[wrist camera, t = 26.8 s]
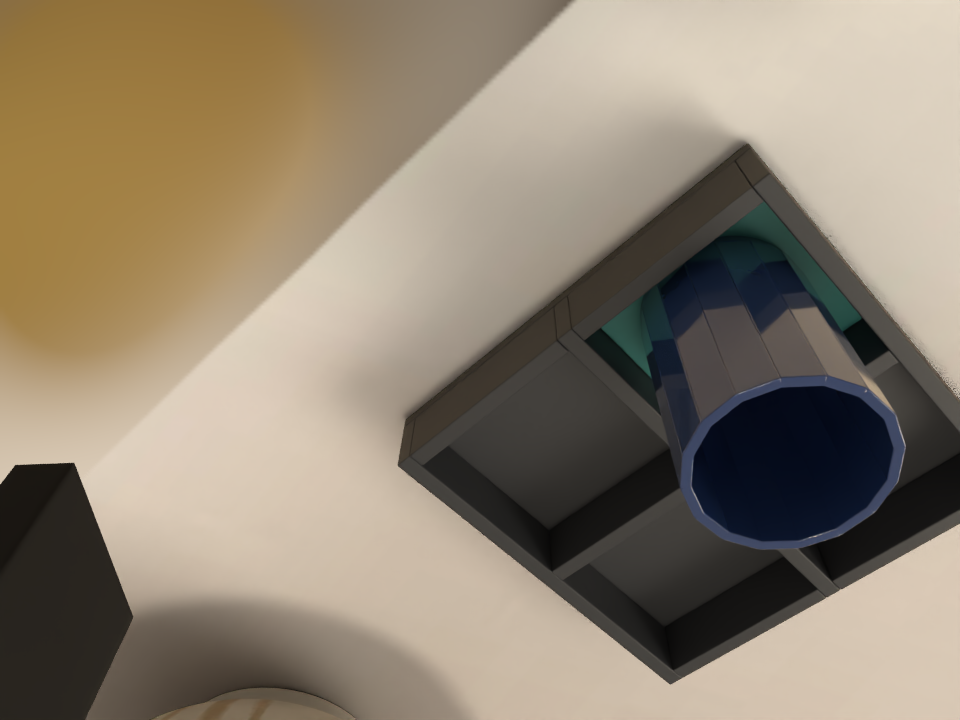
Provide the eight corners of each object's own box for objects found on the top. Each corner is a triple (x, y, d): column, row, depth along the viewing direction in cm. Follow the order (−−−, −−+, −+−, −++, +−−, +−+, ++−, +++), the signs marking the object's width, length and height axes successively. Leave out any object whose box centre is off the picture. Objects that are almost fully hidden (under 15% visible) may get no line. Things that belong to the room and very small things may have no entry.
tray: (747, 142, 36) (770, 172, 33) (991, 438, 43) (1028, 486, 40) (404, 420, 43) (396, 465, 40) (660, 632, 50) (670, 685, 47)
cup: (641, 239, 37) (686, 381, 28) (817, 230, 37) (923, 371, 27) (637, 384, 41) (675, 552, 31) (797, 377, 40) (884, 546, 31)
